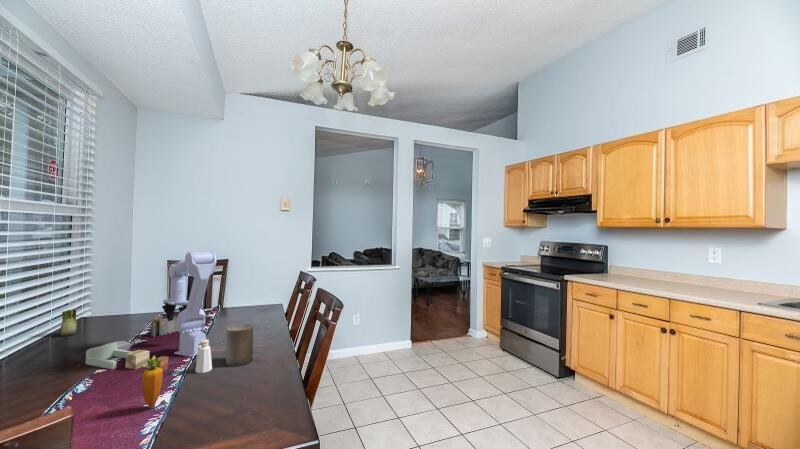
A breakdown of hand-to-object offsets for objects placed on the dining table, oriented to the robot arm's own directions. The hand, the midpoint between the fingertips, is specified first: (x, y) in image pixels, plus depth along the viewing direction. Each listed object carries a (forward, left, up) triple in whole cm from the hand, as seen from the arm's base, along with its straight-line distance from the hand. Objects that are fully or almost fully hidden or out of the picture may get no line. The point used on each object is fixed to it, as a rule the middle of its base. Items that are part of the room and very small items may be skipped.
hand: (177, 321), depth 151 cm
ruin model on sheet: (+17, -9, -11) cm, 22 cm away
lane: (+4, +23, -10) cm, 25 cm away
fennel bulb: (+56, +8, -10) cm, 57 cm away
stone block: (+16, +17, -10) cm, 26 cm away
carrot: (-41, +43, -10) cm, 60 cm away
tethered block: (-13, +23, -10) cm, 28 cm away
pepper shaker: (-34, +18, -10) cm, 40 cm away
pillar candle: (-40, +7, -10) cm, 42 cm away
